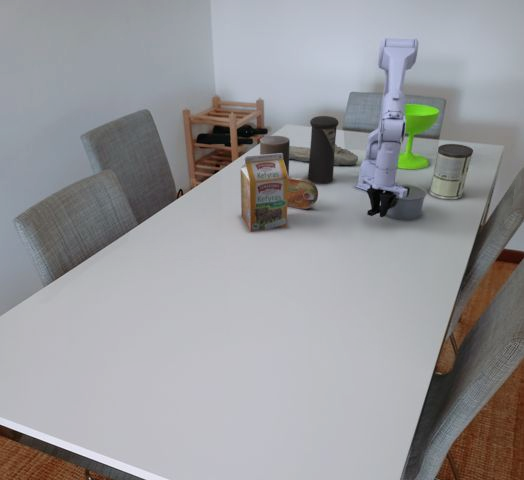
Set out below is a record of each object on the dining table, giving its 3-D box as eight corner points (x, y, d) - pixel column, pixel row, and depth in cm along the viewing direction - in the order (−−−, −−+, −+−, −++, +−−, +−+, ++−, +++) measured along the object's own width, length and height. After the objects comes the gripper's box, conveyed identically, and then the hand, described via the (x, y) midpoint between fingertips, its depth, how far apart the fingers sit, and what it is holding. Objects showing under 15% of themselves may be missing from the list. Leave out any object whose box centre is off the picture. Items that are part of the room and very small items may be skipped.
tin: (269, 202, 158) (270, 175, 153) (274, 199, 160) (274, 172, 155) (314, 211, 153) (316, 184, 147) (318, 208, 155) (320, 180, 150)
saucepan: (352, 220, 148) (355, 195, 143) (398, 201, 159) (402, 177, 154) (383, 234, 141) (388, 208, 136) (429, 213, 152) (435, 188, 147)
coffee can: (426, 187, 169) (435, 143, 160) (458, 188, 168) (469, 144, 159) (431, 199, 161) (441, 153, 152) (465, 200, 160) (477, 154, 151)
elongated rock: (272, 153, 200) (263, 162, 193) (271, 139, 196) (262, 148, 190) (360, 159, 189) (354, 169, 182) (361, 144, 185) (355, 154, 178)
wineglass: (376, 158, 192) (383, 106, 180) (410, 152, 197) (419, 102, 186) (402, 171, 180) (411, 117, 169) (438, 165, 186) (449, 112, 174)
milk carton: (250, 231, 142) (249, 162, 130) (241, 216, 150) (240, 150, 138) (286, 227, 144) (288, 159, 132) (275, 212, 152) (277, 147, 140)
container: (331, 185, 170) (337, 121, 157) (305, 183, 171) (308, 120, 159) (334, 176, 176) (340, 114, 164) (308, 174, 178) (312, 113, 165)
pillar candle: (288, 187, 168) (290, 140, 159) (259, 186, 169) (259, 139, 159) (288, 176, 176) (289, 131, 167) (260, 176, 176) (260, 130, 167)
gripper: (355, 162, 139) (350, 210, 147) (399, 177, 130) (390, 226, 139) (372, 157, 142) (366, 204, 151) (415, 171, 134) (406, 219, 142)
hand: (378, 214), depth 145 cm, fingers closed
